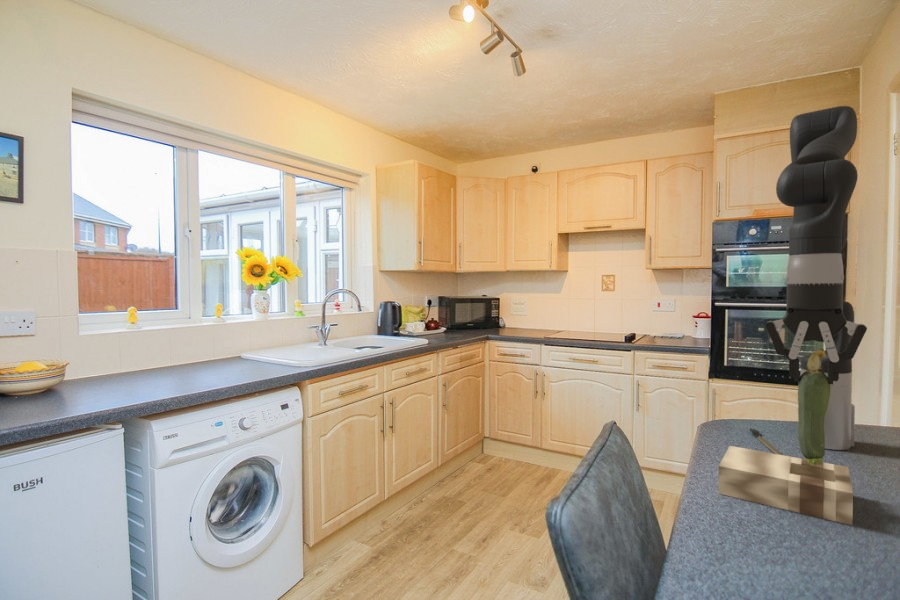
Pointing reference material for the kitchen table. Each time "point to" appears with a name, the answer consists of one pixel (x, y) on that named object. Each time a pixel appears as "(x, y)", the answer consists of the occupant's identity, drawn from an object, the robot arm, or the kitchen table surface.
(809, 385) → the vegetable
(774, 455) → the wooden block with hole
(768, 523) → the kitchen table surface
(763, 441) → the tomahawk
